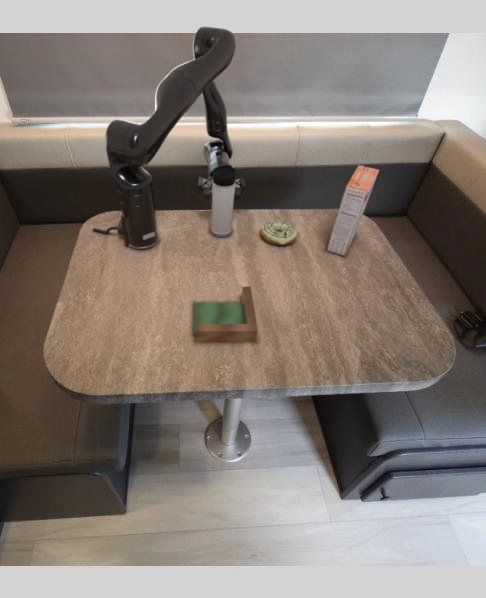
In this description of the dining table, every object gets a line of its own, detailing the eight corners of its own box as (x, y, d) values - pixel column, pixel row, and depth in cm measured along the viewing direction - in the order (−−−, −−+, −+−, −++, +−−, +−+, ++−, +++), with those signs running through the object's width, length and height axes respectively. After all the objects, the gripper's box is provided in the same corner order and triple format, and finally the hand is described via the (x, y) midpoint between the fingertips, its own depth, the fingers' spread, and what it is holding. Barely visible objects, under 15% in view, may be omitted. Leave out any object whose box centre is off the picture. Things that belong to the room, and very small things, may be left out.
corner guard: (193, 342, 79) (193, 330, 76) (193, 297, 88) (193, 286, 86) (255, 342, 79) (257, 330, 76) (249, 297, 89) (250, 286, 86)
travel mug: (234, 228, 110) (240, 167, 96) (226, 239, 106) (231, 177, 92) (216, 223, 112) (219, 162, 98) (207, 234, 108) (209, 171, 93)
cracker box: (337, 227, 112) (358, 163, 97) (356, 233, 110) (381, 169, 95) (324, 250, 103) (345, 184, 88) (344, 257, 101) (370, 190, 86)
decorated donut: (285, 252, 102) (288, 242, 100) (253, 239, 106) (255, 229, 104) (300, 235, 108) (303, 225, 106) (270, 223, 112) (271, 213, 110)
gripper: (198, 160, 110) (198, 185, 99) (243, 160, 111) (248, 185, 99) (198, 182, 116) (198, 208, 104) (240, 183, 116) (245, 209, 105)
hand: (222, 197), depth 102 cm, fingers open, 8 cm apart
